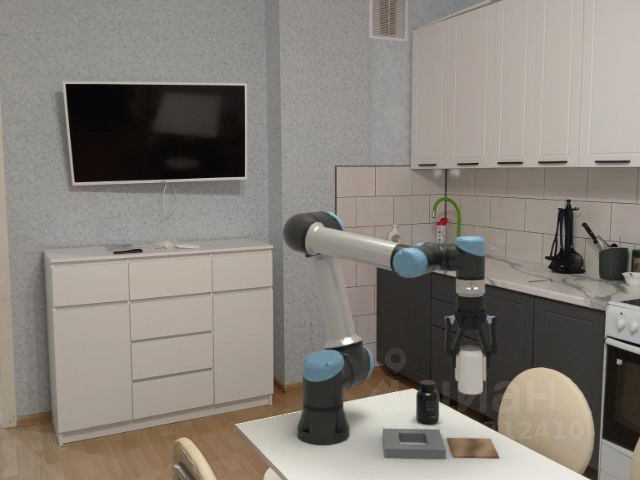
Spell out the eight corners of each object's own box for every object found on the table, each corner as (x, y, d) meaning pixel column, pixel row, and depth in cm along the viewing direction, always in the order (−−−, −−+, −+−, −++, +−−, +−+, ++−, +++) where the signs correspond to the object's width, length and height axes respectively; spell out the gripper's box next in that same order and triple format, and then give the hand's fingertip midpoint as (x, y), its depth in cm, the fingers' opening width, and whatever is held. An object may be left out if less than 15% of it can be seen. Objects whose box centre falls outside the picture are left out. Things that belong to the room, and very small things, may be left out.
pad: (453, 457, 172) (453, 455, 172) (446, 439, 184) (446, 437, 184) (499, 458, 171) (499, 456, 171) (490, 440, 183) (490, 438, 183)
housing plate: (384, 457, 172) (384, 448, 172) (382, 436, 186) (382, 428, 185) (445, 458, 171) (445, 449, 171) (439, 437, 185) (439, 429, 184)
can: (483, 396, 172) (483, 351, 171) (458, 394, 173) (457, 350, 172) (482, 388, 178) (482, 345, 177) (458, 387, 179) (458, 344, 178)
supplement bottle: (442, 419, 199) (442, 381, 198) (434, 426, 193) (434, 387, 192) (421, 415, 202) (421, 377, 201) (412, 422, 197) (412, 383, 195)
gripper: (435, 297, 170) (435, 383, 172) (510, 296, 169) (509, 383, 171) (432, 292, 178) (432, 375, 180) (504, 291, 176) (504, 375, 178)
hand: (470, 379), depth 175 cm, fingers closed on can, 6 cm apart
